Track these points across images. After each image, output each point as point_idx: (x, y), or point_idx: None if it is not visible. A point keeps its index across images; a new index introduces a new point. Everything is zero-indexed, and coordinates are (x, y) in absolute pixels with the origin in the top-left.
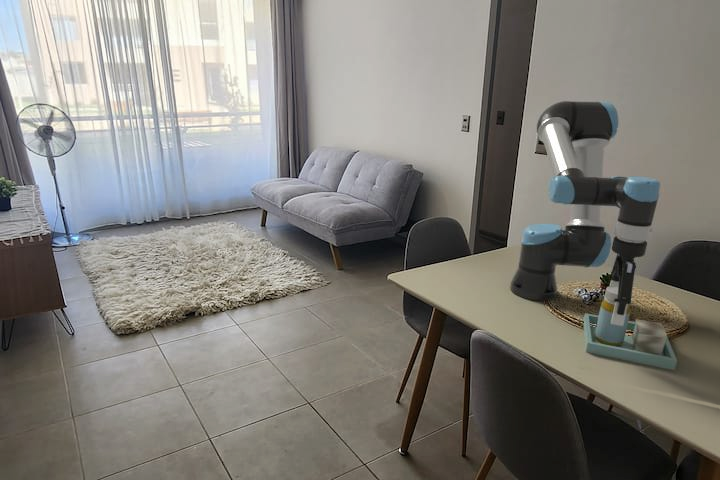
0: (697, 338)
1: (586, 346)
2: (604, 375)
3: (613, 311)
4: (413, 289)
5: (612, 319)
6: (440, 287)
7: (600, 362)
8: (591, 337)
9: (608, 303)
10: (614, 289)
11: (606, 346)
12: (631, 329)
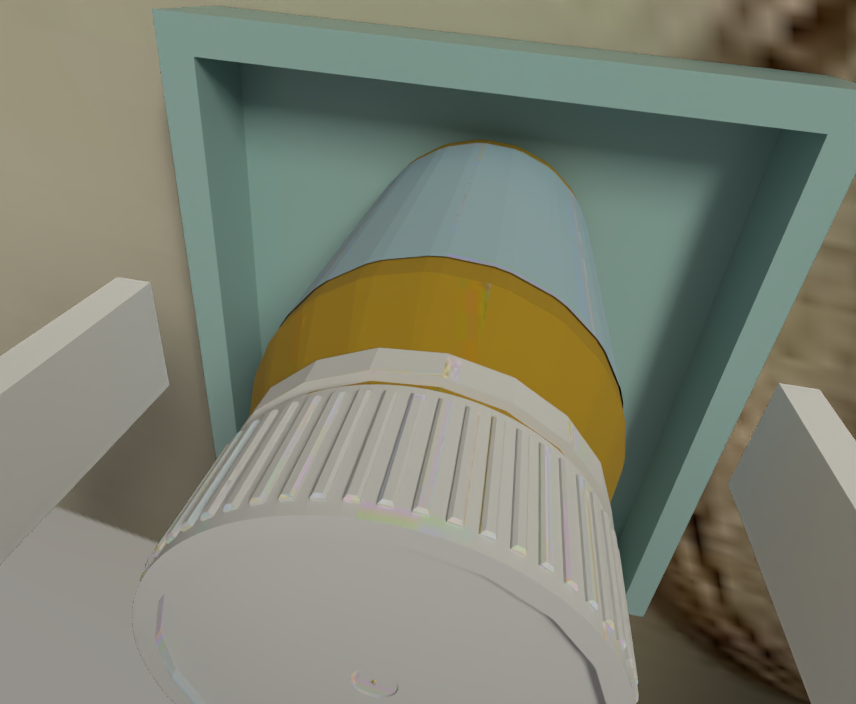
0: (666, 682)
1: (215, 10)
2: (7, 108)
3: (37, 363)
4: None
5: (77, 306)
6: None
7: (160, 114)
8: (490, 107)
9: (295, 369)
10: (436, 645)
11: (180, 180)
12: (665, 442)
